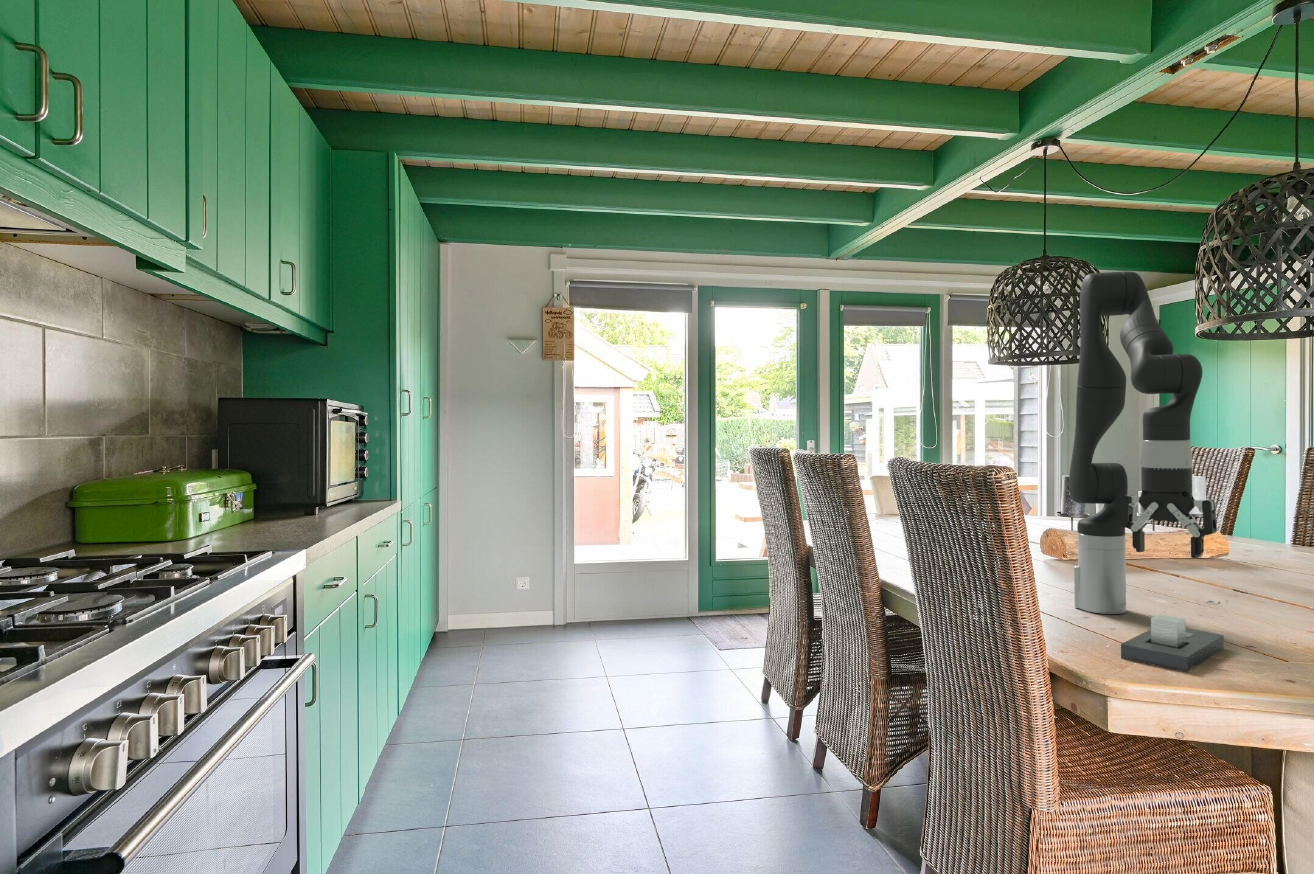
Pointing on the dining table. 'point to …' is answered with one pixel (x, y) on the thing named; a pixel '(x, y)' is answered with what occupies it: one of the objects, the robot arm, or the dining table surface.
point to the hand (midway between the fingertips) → (1166, 554)
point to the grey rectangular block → (1168, 631)
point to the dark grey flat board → (1174, 650)
